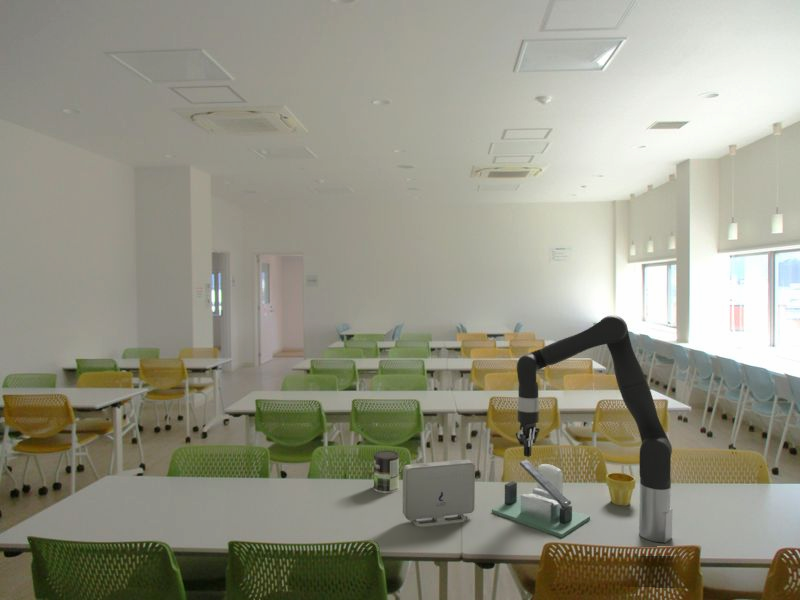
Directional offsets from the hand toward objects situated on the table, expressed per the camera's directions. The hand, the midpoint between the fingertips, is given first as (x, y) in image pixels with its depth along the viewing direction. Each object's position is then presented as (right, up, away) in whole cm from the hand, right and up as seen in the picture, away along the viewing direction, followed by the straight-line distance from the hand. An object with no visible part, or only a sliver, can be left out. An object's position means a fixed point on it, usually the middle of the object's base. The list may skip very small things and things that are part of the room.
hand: (527, 455), depth 203 cm
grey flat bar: (+5, -9, -4) cm, 11 cm away
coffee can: (-52, -20, +23) cm, 60 cm away
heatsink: (+3, -20, -2) cm, 20 cm away
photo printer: (+12, -20, +15) cm, 28 cm away
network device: (-33, -21, -6) cm, 40 cm away
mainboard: (+4, -21, -3) cm, 21 cm away
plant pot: (+38, -21, +10) cm, 44 cm away
